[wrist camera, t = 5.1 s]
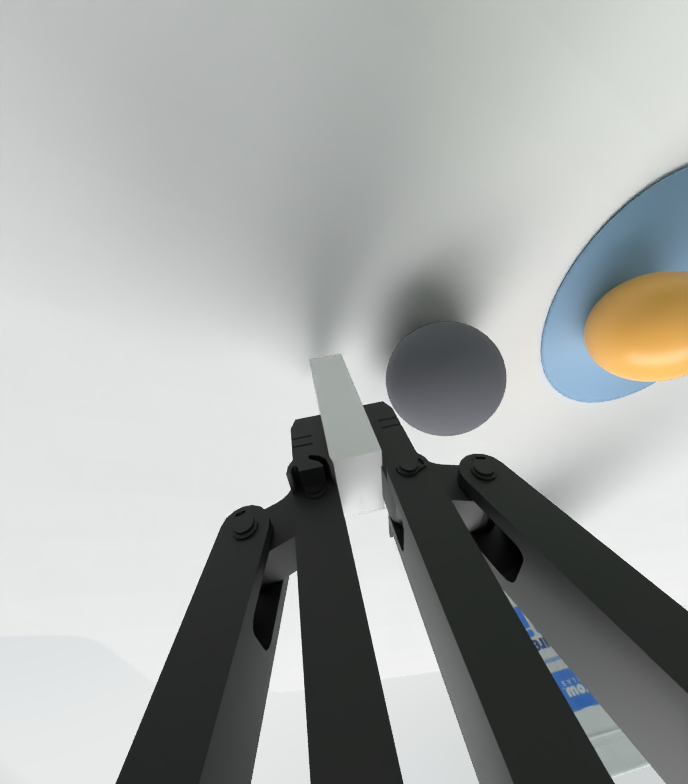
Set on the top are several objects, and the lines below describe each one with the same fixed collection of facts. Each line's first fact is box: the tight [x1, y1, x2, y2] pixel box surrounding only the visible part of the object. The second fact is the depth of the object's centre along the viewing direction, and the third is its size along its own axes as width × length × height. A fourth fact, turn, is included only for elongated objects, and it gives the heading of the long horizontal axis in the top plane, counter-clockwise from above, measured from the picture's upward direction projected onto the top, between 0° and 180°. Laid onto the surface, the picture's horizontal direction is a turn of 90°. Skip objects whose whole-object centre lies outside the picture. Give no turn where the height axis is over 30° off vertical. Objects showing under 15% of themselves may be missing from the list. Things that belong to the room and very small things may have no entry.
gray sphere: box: [386, 321, 506, 436], centre depth 15 cm, size 6×6×6 cm
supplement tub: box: [503, 590, 650, 778], centre depth 27 cm, size 10×10×15 cm
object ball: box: [584, 271, 688, 382], centre depth 16 cm, size 6×6×6 cm
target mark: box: [541, 167, 688, 403], centre depth 18 cm, size 14×14×1 cm
